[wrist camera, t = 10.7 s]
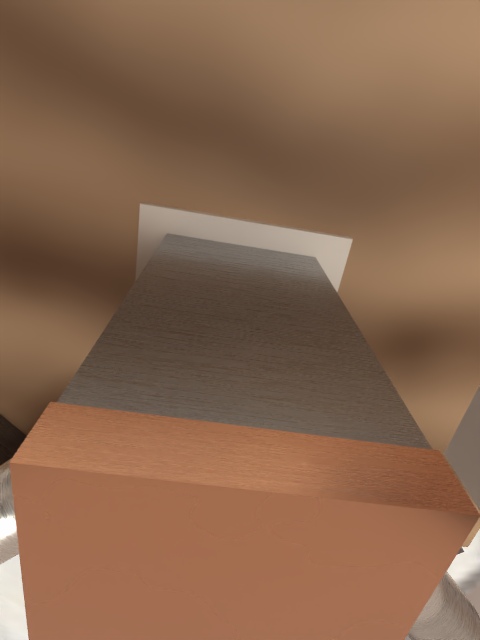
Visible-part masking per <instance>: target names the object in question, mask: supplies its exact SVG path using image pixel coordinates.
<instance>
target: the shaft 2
mask: <svg viewBox="0 0 480 640" xmlns="http://www.w3.org/2000/svg"><path fill="white" fill-rule="evenodd" d="M462 552H464V551H463V549H462V547H461V548H460V550H459V551H458V553H457V554H460V553H462ZM407 636H408V637H409V638H410V639H411V640H480V618H479V615H478V613H477V611H476V609H475V607H474V606H473V605H472V603H471V602H470V601H469V599H468V598H467V597H466V595H465V594H464V593H463V592H462V590H461V589H460V588H459V586H458V585H457V584H456V583H455V581H454V580H453V579H452V577H451V576H450V575H449V574H448V572H447V571H446V573H445V574H444V576H443V577H442V579H441V581H440V582H439V584H438V586H437V587H436V589H435V590H434V592H433V594H432V595H431V597H430V599H429V600H428V602H427V603H426V605H425V607H424V608H423V610H422V612H421V613H420V615H419V616H418V618H417V620H416V621H415V623H414V624H413V626H412V628H411V629H410V631H409V633H408V634H407Z"/></svg>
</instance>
